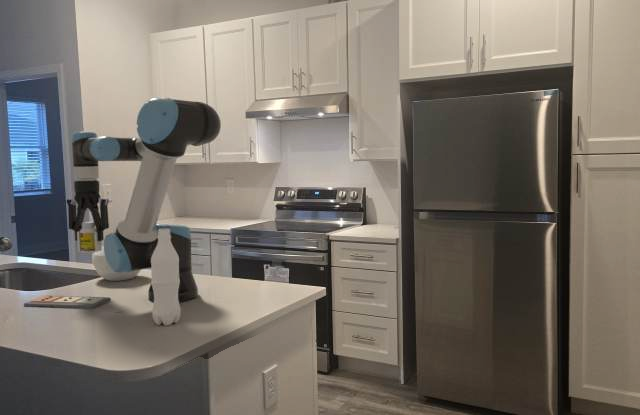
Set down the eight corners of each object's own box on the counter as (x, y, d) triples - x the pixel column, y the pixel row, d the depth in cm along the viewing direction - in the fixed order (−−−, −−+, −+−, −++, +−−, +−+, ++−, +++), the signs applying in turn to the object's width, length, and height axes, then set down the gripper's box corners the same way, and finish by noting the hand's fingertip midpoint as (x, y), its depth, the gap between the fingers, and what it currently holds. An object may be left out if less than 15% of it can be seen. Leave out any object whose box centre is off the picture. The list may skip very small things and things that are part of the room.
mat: (110, 299, 167) (110, 295, 166) (92, 308, 157) (92, 304, 157) (45, 297, 170) (45, 293, 170) (24, 306, 160) (23, 301, 160)
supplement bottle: (77, 252, 174) (75, 222, 174) (90, 250, 180) (88, 221, 179) (90, 253, 172) (88, 223, 172) (102, 250, 177) (101, 221, 177)
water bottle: (165, 328, 137) (162, 231, 135) (146, 324, 141) (143, 229, 139) (186, 321, 143) (184, 228, 141) (167, 317, 147) (165, 226, 145)
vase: (155, 277, 200) (153, 226, 199) (108, 286, 186) (106, 231, 185) (129, 271, 212) (128, 223, 211) (84, 278, 198) (81, 227, 197)
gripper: (119, 179, 177) (122, 249, 178) (67, 180, 179) (71, 249, 181) (106, 179, 169) (109, 252, 171) (53, 180, 172) (57, 252, 174)
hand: (89, 250), depth 176 cm, fingers closed on supplement bottle, 5 cm apart
